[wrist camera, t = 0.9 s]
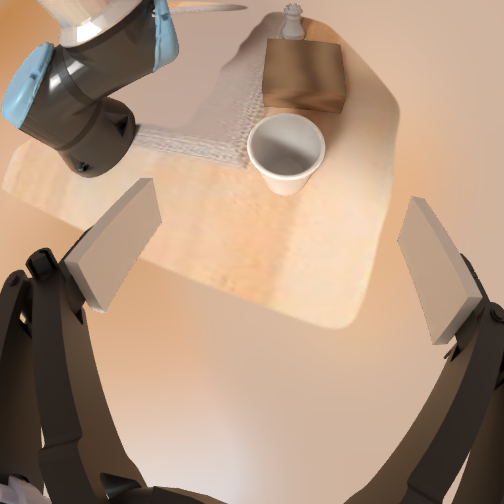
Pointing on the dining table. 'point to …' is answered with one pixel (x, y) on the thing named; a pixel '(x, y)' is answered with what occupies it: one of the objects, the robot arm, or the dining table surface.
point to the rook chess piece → (293, 23)
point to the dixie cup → (286, 151)
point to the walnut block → (303, 75)
